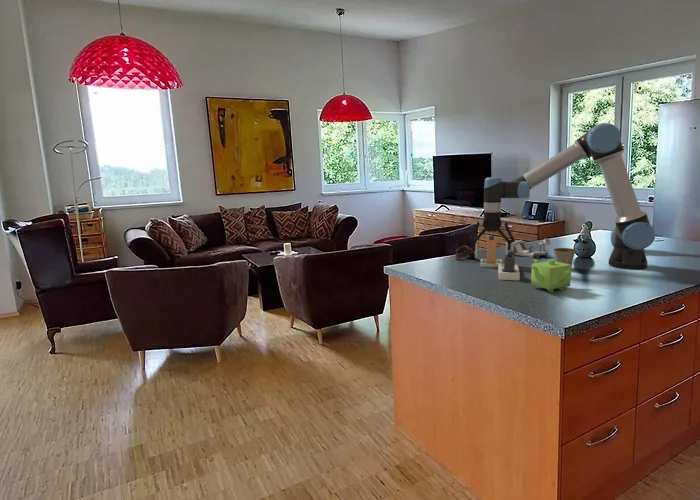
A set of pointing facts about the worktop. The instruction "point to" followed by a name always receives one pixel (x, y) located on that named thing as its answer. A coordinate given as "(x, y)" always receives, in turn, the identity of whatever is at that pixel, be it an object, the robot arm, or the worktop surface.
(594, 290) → the worktop surface
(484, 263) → the tray
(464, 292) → the worktop surface
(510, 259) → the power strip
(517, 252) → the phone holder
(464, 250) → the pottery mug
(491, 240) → the plug
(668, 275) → the worktop surface
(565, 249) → the flower pot
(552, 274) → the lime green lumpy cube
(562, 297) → the worktop surface
